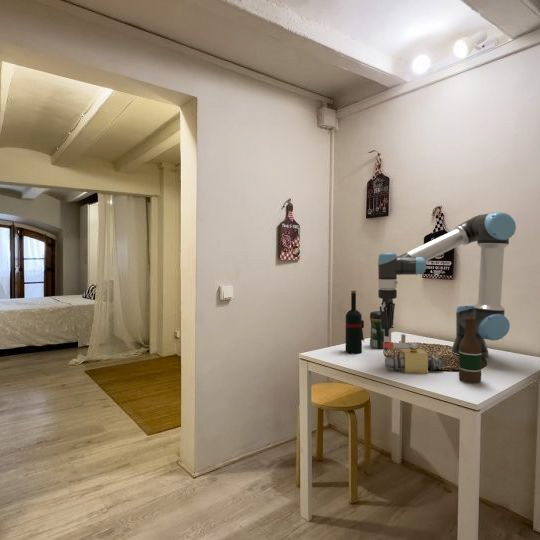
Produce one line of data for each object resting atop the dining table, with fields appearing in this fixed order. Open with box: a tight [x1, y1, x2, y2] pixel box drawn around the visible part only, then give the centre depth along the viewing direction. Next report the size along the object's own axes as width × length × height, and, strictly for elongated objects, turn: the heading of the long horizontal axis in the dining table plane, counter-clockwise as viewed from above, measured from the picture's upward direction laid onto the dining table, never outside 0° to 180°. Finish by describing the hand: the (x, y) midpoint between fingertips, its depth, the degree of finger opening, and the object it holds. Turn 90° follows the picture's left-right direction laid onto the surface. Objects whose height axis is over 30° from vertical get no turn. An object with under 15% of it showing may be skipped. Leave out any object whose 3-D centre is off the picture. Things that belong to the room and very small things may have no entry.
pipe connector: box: [398, 333, 409, 349], centre depth 177 cm, size 10×10×10 cm
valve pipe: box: [384, 348, 444, 374], centre depth 156 cm, size 22×7×9 cm, turn 88°
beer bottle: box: [458, 317, 483, 384], centre depth 143 cm, size 8×8×24 cm
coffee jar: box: [369, 310, 384, 349], centre depth 194 cm, size 10×8×19 cm
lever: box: [382, 341, 420, 349], centre depth 156 cm, size 14×4×2 cm, turn 77°
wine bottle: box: [345, 290, 366, 355], centre depth 185 cm, size 8×10×30 cm
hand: (387, 343), depth 164 cm, fingers closed
